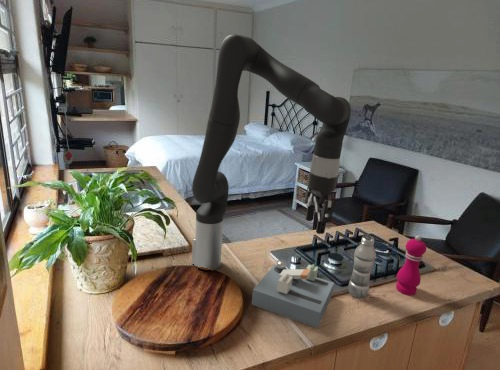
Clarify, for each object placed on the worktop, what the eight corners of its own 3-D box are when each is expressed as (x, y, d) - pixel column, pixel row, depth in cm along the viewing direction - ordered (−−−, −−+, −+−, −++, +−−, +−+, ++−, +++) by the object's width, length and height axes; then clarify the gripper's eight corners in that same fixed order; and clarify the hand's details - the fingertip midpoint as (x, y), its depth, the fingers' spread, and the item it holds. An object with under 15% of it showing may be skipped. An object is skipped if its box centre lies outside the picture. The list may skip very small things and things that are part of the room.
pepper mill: (390, 289, 118) (403, 234, 112) (399, 281, 123) (411, 228, 117) (412, 299, 114) (427, 242, 108) (420, 290, 119) (434, 236, 113)
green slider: (304, 278, 110) (306, 266, 109) (307, 274, 112) (309, 262, 111) (314, 281, 109) (315, 269, 108) (316, 277, 111) (318, 265, 110)
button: (274, 268, 114) (275, 262, 113) (278, 265, 116) (278, 259, 116) (283, 271, 113) (284, 265, 112) (286, 267, 115) (287, 261, 115)
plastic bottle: (345, 297, 111) (356, 240, 105) (347, 286, 117) (358, 231, 112) (367, 303, 109) (379, 245, 103) (368, 292, 115) (379, 236, 110)
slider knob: (276, 290, 102) (278, 278, 101) (281, 284, 106) (283, 272, 105) (286, 294, 101) (288, 281, 100) (291, 287, 105) (292, 275, 103)
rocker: (279, 279, 108) (278, 275, 108) (284, 272, 112) (283, 268, 112) (307, 279, 104) (306, 275, 104) (311, 272, 108) (311, 268, 108)
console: (251, 304, 104) (253, 285, 102) (273, 277, 119) (274, 261, 117) (317, 328, 96) (320, 308, 95) (331, 296, 111) (334, 278, 110)
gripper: (302, 164, 102) (294, 216, 107) (320, 179, 89) (310, 237, 94) (326, 165, 103) (317, 216, 108) (348, 180, 90) (336, 238, 95)
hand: (314, 226), depth 101 cm, fingers open, 8 cm apart
